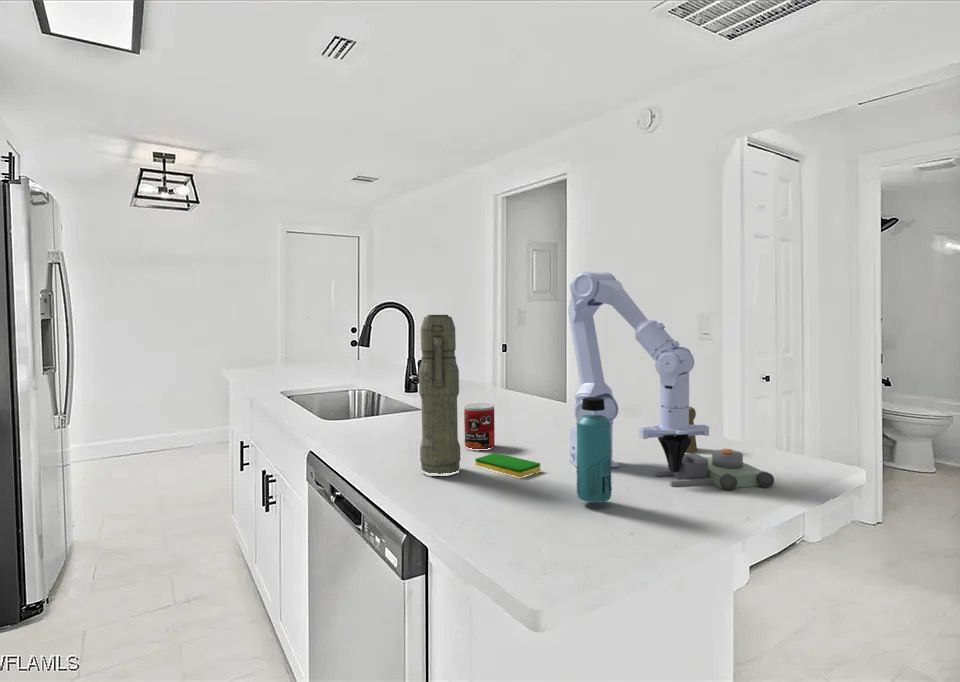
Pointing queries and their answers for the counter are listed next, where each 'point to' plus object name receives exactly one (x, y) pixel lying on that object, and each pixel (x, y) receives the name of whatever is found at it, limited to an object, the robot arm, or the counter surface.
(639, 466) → the counter surface
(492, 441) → the canned food
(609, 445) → the beverage bottle
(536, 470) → the dish sponge
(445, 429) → the olive green flashlight
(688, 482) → the mower deck
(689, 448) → the olive brown tapered figure
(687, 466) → the grey block on ledge
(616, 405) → the robot arm
